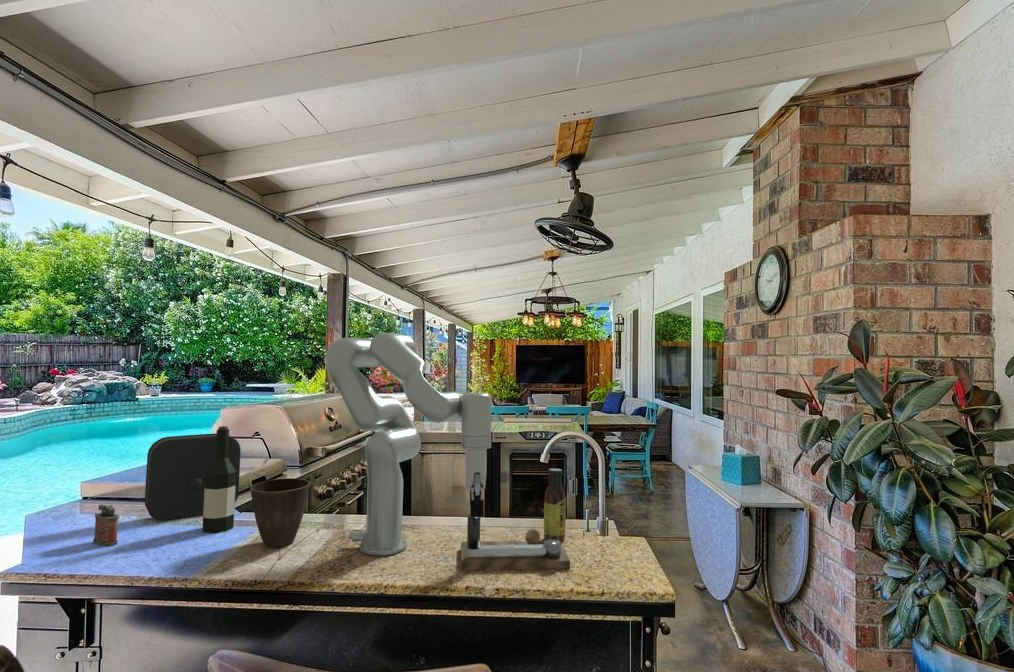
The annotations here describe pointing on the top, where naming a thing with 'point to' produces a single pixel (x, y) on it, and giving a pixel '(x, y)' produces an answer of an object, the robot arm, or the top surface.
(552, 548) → the lever
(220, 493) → the wine bottle
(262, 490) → the plant pot
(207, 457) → the speaker
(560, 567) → the board
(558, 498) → the sauce bottle
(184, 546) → the top surface
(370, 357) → the robot arm
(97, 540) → the lighter
